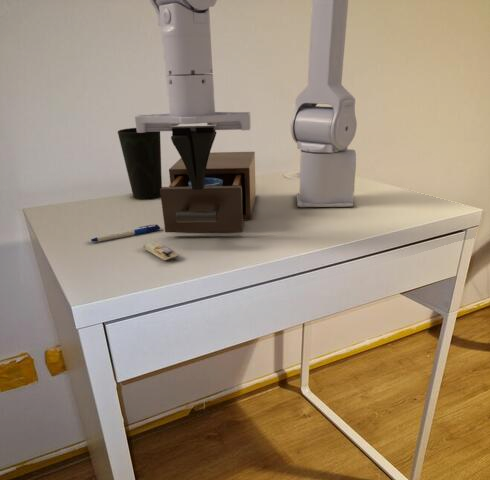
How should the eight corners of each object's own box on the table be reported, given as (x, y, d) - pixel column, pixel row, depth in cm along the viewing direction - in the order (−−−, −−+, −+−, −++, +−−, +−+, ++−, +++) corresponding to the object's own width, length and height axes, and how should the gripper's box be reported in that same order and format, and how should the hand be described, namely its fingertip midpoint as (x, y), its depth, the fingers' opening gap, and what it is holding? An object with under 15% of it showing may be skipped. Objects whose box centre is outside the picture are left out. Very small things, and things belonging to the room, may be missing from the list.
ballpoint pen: (158, 228, 73) (157, 222, 72) (160, 230, 72) (159, 223, 72) (91, 242, 68) (90, 235, 68) (93, 244, 67) (91, 237, 67)
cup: (171, 190, 94) (164, 126, 88) (161, 200, 88) (153, 132, 82) (134, 191, 95) (125, 127, 89) (122, 201, 88) (111, 133, 82)
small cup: (226, 209, 74) (224, 177, 71) (222, 219, 69) (220, 185, 67) (194, 210, 74) (191, 177, 72) (188, 219, 70) (185, 185, 67)
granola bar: (141, 249, 65) (140, 242, 64) (156, 245, 66) (155, 238, 65) (164, 263, 60) (163, 255, 59) (180, 258, 61) (179, 251, 60)
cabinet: (250, 219, 75) (249, 167, 71) (174, 220, 76) (168, 169, 72) (255, 196, 88) (254, 151, 84) (190, 197, 89) (186, 153, 85)
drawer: (239, 243, 63) (237, 196, 60) (157, 244, 64) (151, 198, 61) (248, 206, 79) (247, 168, 76) (182, 207, 80) (178, 169, 77)
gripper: (121, 77, 54) (138, 195, 61) (246, 73, 53) (249, 194, 59) (138, 76, 60) (151, 183, 67) (250, 72, 59) (252, 182, 66)
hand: (198, 188), depth 63 cm, fingers closed
